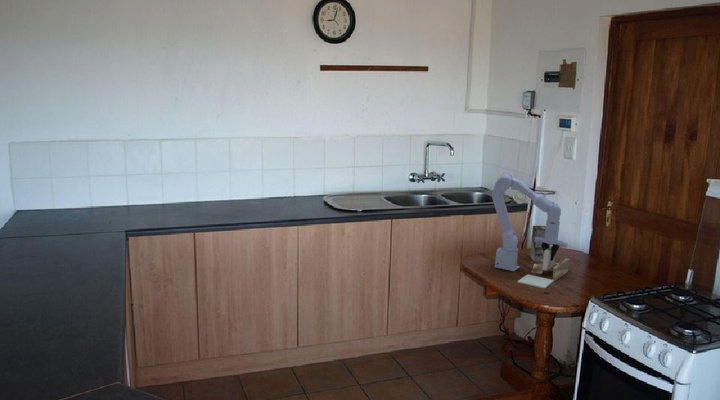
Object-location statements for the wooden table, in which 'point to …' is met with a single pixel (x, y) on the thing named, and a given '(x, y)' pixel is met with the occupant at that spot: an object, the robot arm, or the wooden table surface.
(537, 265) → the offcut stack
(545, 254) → the gray rectangular slab
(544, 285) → the mat
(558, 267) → the corner fence
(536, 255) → the coffee box
